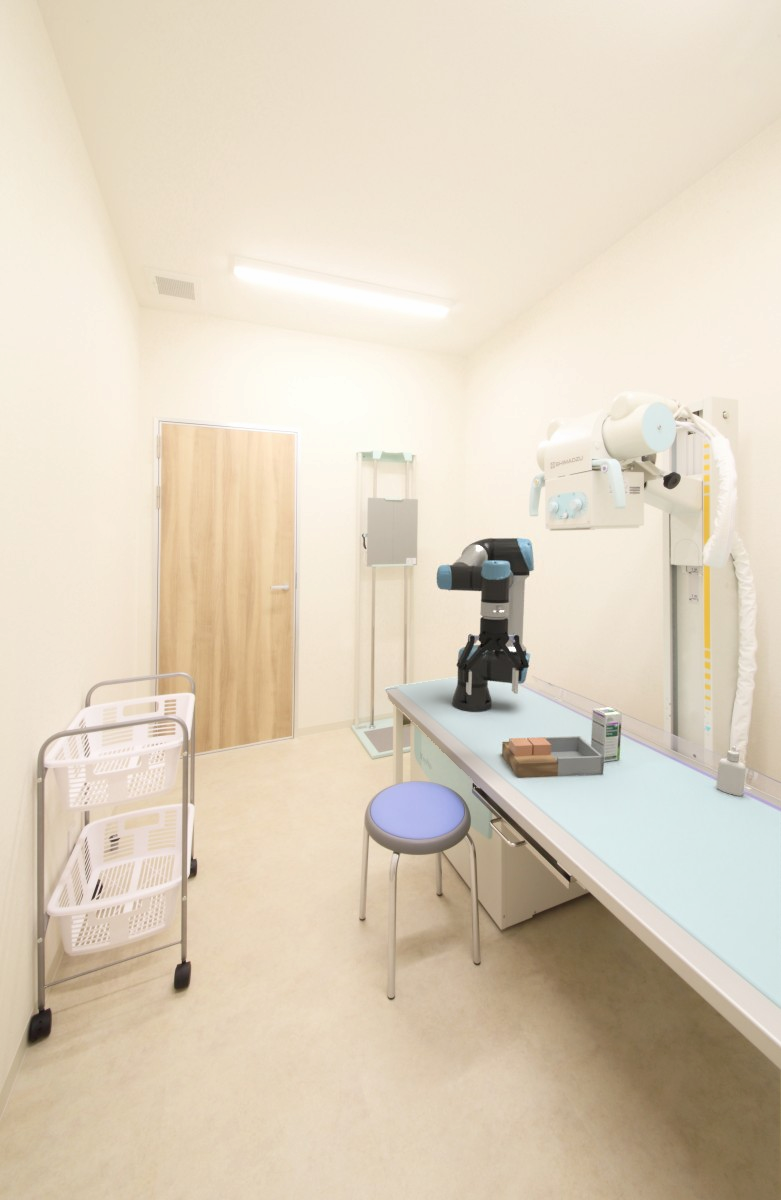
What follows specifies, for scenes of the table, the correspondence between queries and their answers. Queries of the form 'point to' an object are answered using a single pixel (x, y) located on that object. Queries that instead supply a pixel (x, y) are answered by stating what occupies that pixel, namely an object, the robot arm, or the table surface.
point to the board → (530, 764)
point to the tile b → (540, 746)
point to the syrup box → (606, 732)
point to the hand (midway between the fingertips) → (491, 692)
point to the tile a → (520, 746)
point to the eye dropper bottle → (731, 774)
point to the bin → (575, 756)
